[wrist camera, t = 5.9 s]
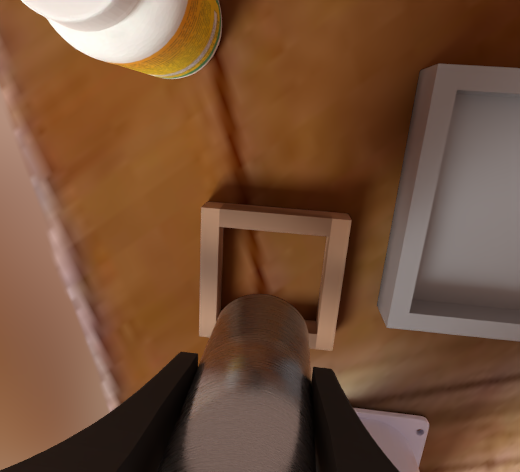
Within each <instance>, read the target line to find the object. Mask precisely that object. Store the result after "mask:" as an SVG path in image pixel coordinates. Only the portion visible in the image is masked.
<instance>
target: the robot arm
mask: <svg viewBox="0 0 520 472" xmlns="http://www.w3.org/2000/svg"><path fill="white" fill-rule="evenodd" d="M197 369H198V354H196V353H187V352H180V353H179V354H178V355H177V356H176V357H175V358H173V359H172V360H171V361H170V362H169V363H168V364H167V365H166V366H165V367H164V368H163V369H162V370H161V371H160V372H159V373H158V374H157V375H155V376H154V377H153V378H152V379H151V380H150V381H149V382H148V383H146V384H145V385H144V386H143V387H142V388H141V389H140V390H138V391H137V392H136V393H135V394H133V395H132V396H131V397H130V398H128V399H127V400H126V401H125V402H123V403H122V404H121V405H120V406H118V407H117V408H116V409H114V410H113V411H111V412H110V413H109V414H107V415H106V416H104V417H103V418H101V419H100V420H98V421H97V422H95V423H94V424H92V425H91V426H89V427H87V428H85V429H84V430H82V431H80V432H79V433H77V434H75V435H73V436H72V437H70V438H68V439H67V440H65V441H63V442H61V443H59V444H57V445H55V446H53V447H51V448H50V449H48V450H46V451H44V452H41V453H39V454H37V455H35V456H33V457H31V458H29V459H27V460H24V461H22V462H20V463H18V464H15V465H13V466H10V467H8V468H5V469H3V470H0V472H157V470H158V468H159V465H160V463H161V460H162V457H163V455H164V452H165V450H166V447H167V445H168V442H169V440H170V437H171V435H172V432H173V430H174V427H175V425H176V422H177V420H178V417H179V414H180V412H181V409H182V407H183V404H184V402H185V399H186V397H187V394H188V392H189V389H190V387H191V384H192V382H193V379H194V376H195V374H196V371H197ZM311 387H312V405H313V421H314V438H315V456H316V472H420V471H419V464H420V460H421V457H422V453H423V449H424V445H425V441H426V438H427V434H428V430H429V422H428V420H427V418H425V417H423V416H417V415H409V414H401V413H392V412H384V411H376V410H368V409H359V408H353V407H352V406H351V404H350V402H349V400H348V399H347V397H346V395H345V393H344V391H343V390H342V388H341V386H340V384H339V382H338V380H337V378H336V376H335V373H334V372H333V370H332V369H327V368H318V367H313V374H312V382H311ZM418 429H421V430H420V431H417V430H418Z"/></svg>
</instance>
